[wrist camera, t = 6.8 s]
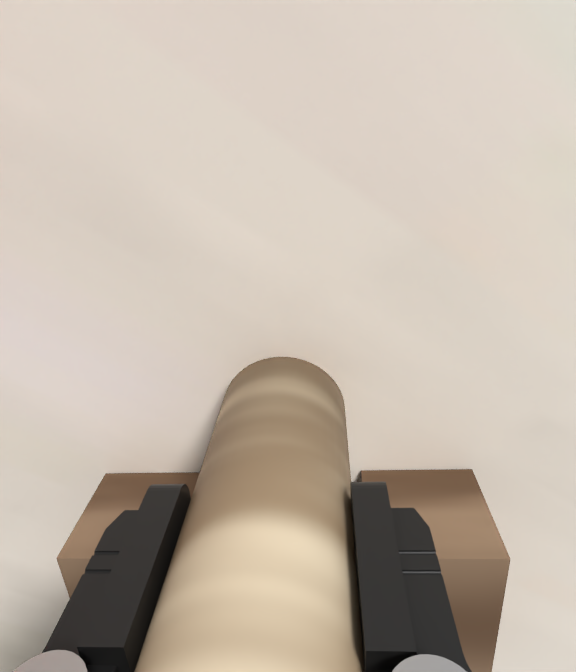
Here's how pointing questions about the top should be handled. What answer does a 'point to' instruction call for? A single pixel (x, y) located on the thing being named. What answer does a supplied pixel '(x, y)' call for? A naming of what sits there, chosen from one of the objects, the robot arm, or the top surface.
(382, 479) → the block
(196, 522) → the dowel
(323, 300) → the top surface
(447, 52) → the top surface
